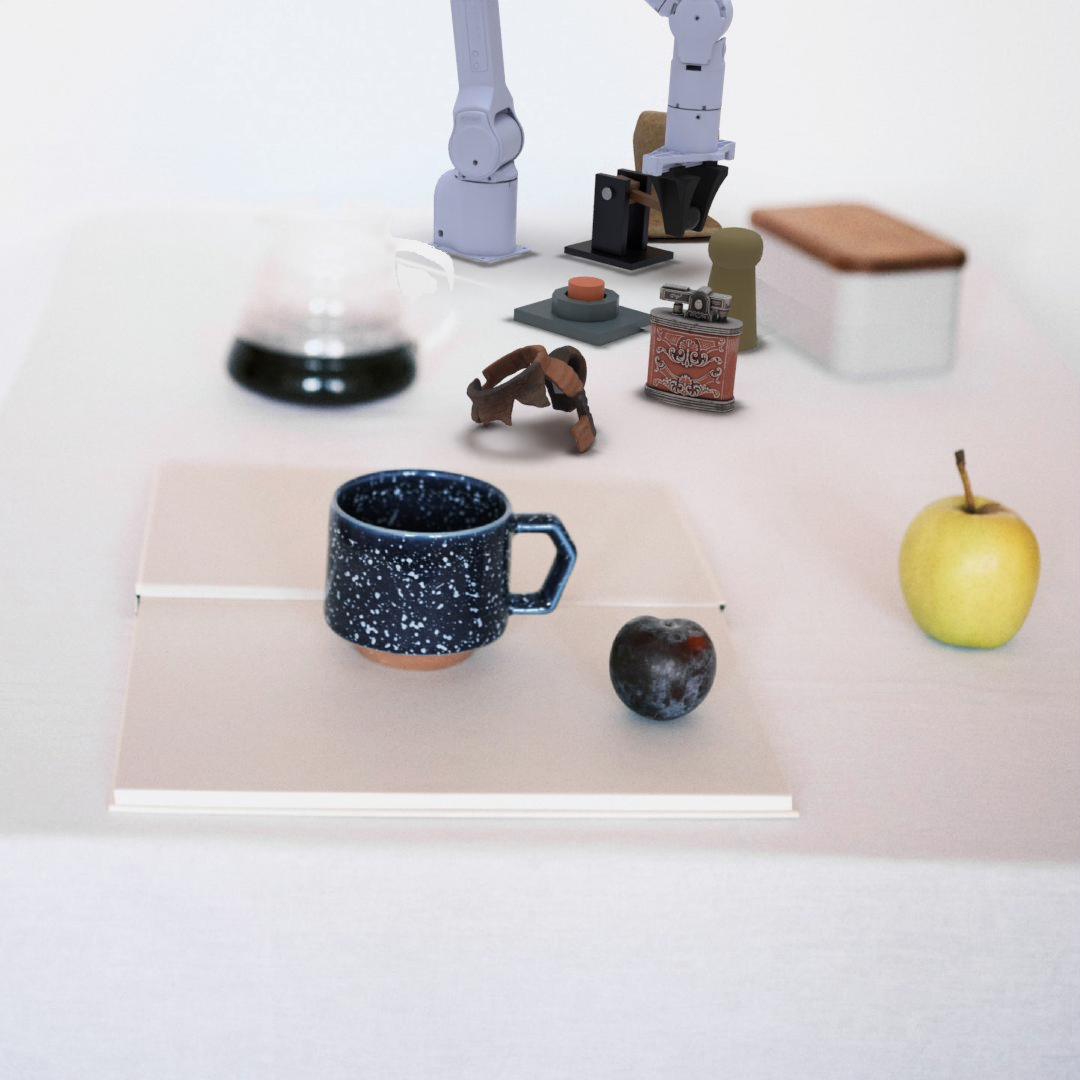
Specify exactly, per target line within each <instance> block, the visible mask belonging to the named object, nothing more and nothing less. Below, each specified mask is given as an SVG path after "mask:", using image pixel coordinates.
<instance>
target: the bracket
mask: <svg viewBox="0 0 1080 1080" xmlns="http://www.w3.org/2000/svg"><path fill="white" fill-rule="evenodd" d="M594 174H595V176H594V191H593V207H592V209H593V211H592V212H593V213H592V224H591V225H592V227H591V239H588V240H584V241H581V242H576V243H572V244H569V245H566V246H564V247H563V253H564V254H567V255H570V256H573V257H577V258H582V259H585V260H589V261H593V262H596V263H601V264H605V265H608V266H612V267H615V268H620V269H624V270H627V271H631V272H632V271H636V270H638V269H639V270H640V269H642V268H646V267H649V266H653V265H657V264H660V263H663V262H666V261H670V260H673V259H674V257H675V252H674V251H670V250H667V249H662V248H659V247H656V246H651V245H648V241H649V240H648V239H649V238H648V229H649V216H650V207H648V206H645V205H643V204H640V203H638V202H636V203H633V204H629V201H630V186H631V179H633V180H635V181H638V182H640V186H639V191H641V192H644V193H646V194H649V195H651V189H652V182H651V180H650V178H649V175H648V174H643V173H642V172H638V171H635V170H633V169H629V168H617V170H616V175H613V174H609V173H605V172H598V173H594ZM619 175H623V176H625V177H628V178H630V179H627V178H623V177H618V176H619Z"/></svg>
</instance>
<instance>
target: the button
mask: <svg viewBox="0 0 1080 1080" xmlns="http://www.w3.org/2000/svg"><path fill="white" fill-rule="evenodd" d="M567 286H568V298H572V299H575V300H584V301H595V300H601V299H604V288H606V282H605V281H604V279H602V278H599V277H594V276H585V275H584V276H583V275H582V276H574V277H571V278H569V279H568V281H567Z"/></svg>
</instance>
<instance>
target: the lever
mask: <svg viewBox="0 0 1080 1080" xmlns="http://www.w3.org/2000/svg"><path fill="white" fill-rule="evenodd" d="M618 177H623V178H627V179H630V178H628V177H625V176H623V175H619V176H618ZM639 186H640V182H638V181H635V180H633V179H631V186H630V201H629V204H633V203H636V202H638V203H640V204H643V205H645V206H648V207H650V208H653V209H655V210H657V211H660V212H661V207H660V203H659V199H658V198H656V197H654V196H651V195H649V194H646V193H644V192H641V191H639ZM699 220H700V211H699V209H698V207H697V206H696V205H695V204H694V203H692V202H691V203H690V207H689V212H688V218H687V225H686V229H685V231H688V230H691V229H693V228H694V227H696V225H697V224H698V222H699Z"/></svg>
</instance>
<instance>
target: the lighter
mask: <svg viewBox="0 0 1080 1080" xmlns="http://www.w3.org/2000/svg"><path fill="white" fill-rule="evenodd" d="M690 287H691V286H689V285H688V286H687V285H682V284H675V283H668V282H665V283H663V284H662V285H661V286H660V287H659V300H660V301H661V300H662V301H666V302H673V304H672V306H673V307H667V306H657V307H654V308H652V309H651V310H650V313H649V314H650V321H651V322H652V324H651V328H650V340H649V351H648V362H647V363H648V364H647V378H646V381H645V383H644V390H643V394H644V396H645V397H646V398H649V399H652V400H656V401H659V402H662V403H666V404H671V405H676V406H679V407H685V408H689V409H690V408H691V409H695V410H703V411H709V412H718V413H724V412H730V411H733V410H734V408H735V400H736V397H735V395H734V390H735V381H736V372H737V363H738V356H739V355H738V354H739V351H738V346H739V336H740V334H741V333H742V328H743V322H742V321H740V320H738V319H734V318H730V317H727V315H728V313H729V309H730V307H731V298H732V297H731V296H729V295H724V294H718V293H714V292H713V290H712V289H711V288H710V287H708V285H702V286H700V287H698V289H692V288H690ZM684 304H685V305H688V306H687V308H686V309H685V308H684ZM716 309H718V315H717V310H716Z"/></svg>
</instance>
